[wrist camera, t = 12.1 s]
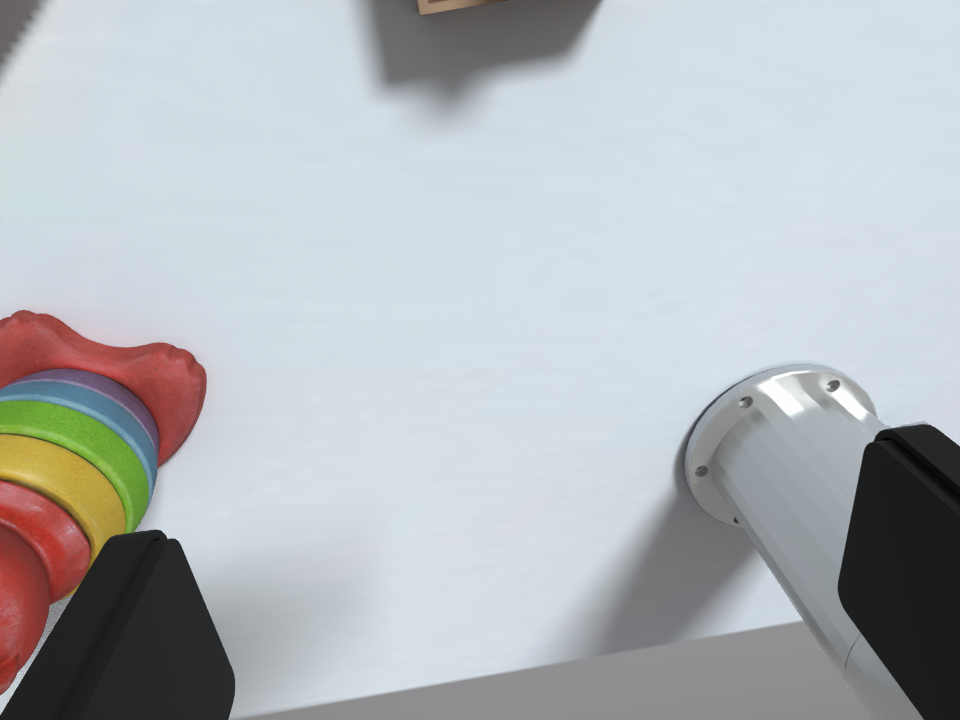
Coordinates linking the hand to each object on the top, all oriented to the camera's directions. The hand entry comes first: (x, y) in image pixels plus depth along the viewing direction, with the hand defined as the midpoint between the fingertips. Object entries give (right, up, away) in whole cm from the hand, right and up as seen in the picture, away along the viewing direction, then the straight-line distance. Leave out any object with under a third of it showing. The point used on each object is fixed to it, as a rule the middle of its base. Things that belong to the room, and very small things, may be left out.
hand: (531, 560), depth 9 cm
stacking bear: (-22, 0, +28) cm, 36 cm away
